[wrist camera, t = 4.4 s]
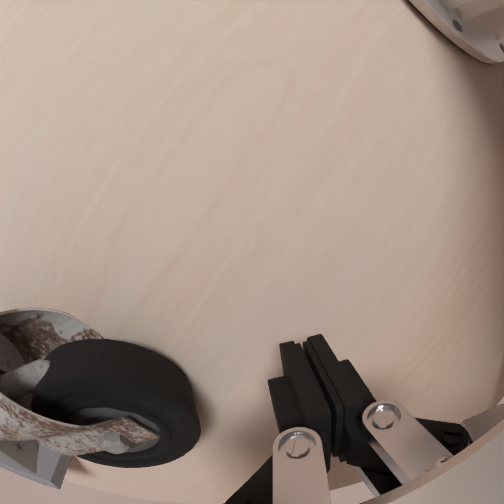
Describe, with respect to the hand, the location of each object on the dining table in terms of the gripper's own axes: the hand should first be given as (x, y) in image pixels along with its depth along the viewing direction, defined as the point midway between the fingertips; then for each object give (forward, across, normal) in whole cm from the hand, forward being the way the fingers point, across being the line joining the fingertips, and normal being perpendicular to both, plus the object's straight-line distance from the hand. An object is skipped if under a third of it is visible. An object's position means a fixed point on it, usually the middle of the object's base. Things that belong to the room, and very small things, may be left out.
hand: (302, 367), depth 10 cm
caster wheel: (+3, +10, 0) cm, 10 cm away
